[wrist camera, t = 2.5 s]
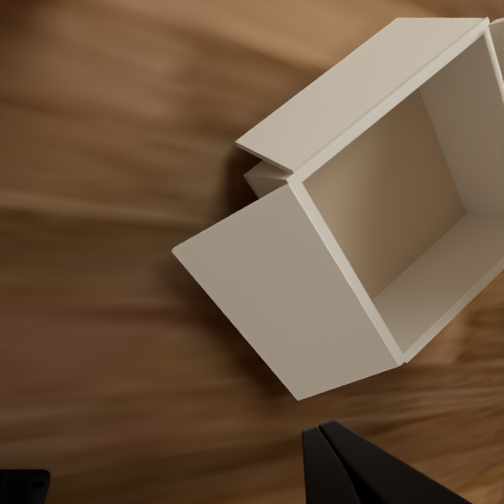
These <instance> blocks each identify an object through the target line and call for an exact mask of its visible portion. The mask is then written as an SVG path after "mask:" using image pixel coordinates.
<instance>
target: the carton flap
mask: <svg viewBox="0 0 504 504" xmlns="http://www.w3.org/2000/svg"><path fill="white" fill-rule="evenodd" d="M488 27H489V31H490V34H491V38H492V42H493V45H494V49H495V52H496V56H497V60H498V63H499V67H500V71H501V74H502V78H503V81H504V18H500V19H497V20H495V21H493V22H492V23H491V24H489V25H488Z"/></svg>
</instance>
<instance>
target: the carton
mask: <svg viewBox="0 0 504 504" xmlns="http://www.w3.org/2000/svg"><path fill="white" fill-rule="evenodd" d="M489 24H490V22H489V19H488V17H487V18H484V19H482V18H396V19H395V20H394V21H392V22H391V23H390V24H389V25H387V26H386V27H385V28H383V29H382V30H381V31H379V32H378V33H377V34H375V35H374V36H373V37H371V38H370V39H369V40H368V41H366V42H365V43H364V44H362V45H361V46H360V47H358V48H357V49H356V50H354V51H353V52H352V53H351V54H349V55H348V56H347V57H345V58H344V59H343V60H341V61H340V62H339V63H337V64H336V65H335V66H333V67H332V68H331V69H330V70H328V71H327V72H326V73H324V74H323V75H322V76H320V77H319V78H318V79H316V80H315V81H314V82H313V83H311V84H310V85H309V86H307V87H306V88H305V89H303V90H302V91H301V92H299V93H298V94H297V95H295V96H294V97H293V98H292V99H290V100H289V101H288V102H286V103H285V104H284V105H282V106H281V107H280V108H278V109H277V110H276V111H275V112H273V113H272V114H271V115H269V116H268V117H267V118H265V119H264V120H263V121H261V122H260V123H259V124H257V125H256V126H255V127H254V128H252V129H251V130H250V131H248V132H247V133H246V134H244V135H243V136H242V137H240V138H239V139H238V140H237V141H235V142H236V144H237V146H238V147H239V148H241V149H243V150H245V151H247V152H249V153H251V154H253V155H255V156H257V157H259V158H260V159H262V161H261V162H259V163H258V164H257V165H256V166H254V167H253V168H252V169H251V170H249V171H248V172H247V173H245V174H244V175H243V176H244V178H245V179H246V181H247V182H248V184H249V185H250V187H251V188H252V190H253V191H254V193H255V194H256V196H257V197H258V199H259V200H257V201H255V202H253V203H252V204H250V205H248V206H246V207H244V208H243V209H241V210H239V211H237V212H236V213H234V214H232V215H230V216H229V217H227V218H225V219H223V220H222V221H220V222H218V223H216V224H215V225H213V226H211V227H209V228H208V229H206V230H204V231H202V232H201V233H199V234H197V235H195V236H194V237H192V238H190V239H188V240H186V241H185V242H183V243H181V244H179V245H178V246H176V247H174V248H173V250H172V253H173V254H174V255H175V256H176V257H177V258H178V260H179V261H180V262H181V263H182V264H183V266H184V267H185V268H186V269H187V270H188V271H189V273H190V274H191V275H192V276H193V277H194V279H195V280H196V281H197V282H198V283H199V284H200V286H201V287H202V288H203V289H204V290H205V292H206V293H207V294H208V295H209V296H210V297H211V299H212V300H213V301H214V302H215V303H216V305H217V306H218V307H219V308H220V309H221V311H222V312H223V313H224V314H225V315H226V316H227V318H228V319H229V320H230V321H231V322H232V324H233V325H234V326H235V327H236V328H237V329H238V331H239V332H240V333H241V334H242V335H243V337H244V338H245V339H246V340H247V341H248V342H249V344H250V345H251V346H252V347H253V348H254V350H255V351H256V352H257V353H258V354H259V355H260V357H261V358H262V359H263V360H264V361H265V363H266V364H267V365H268V366H269V367H270V369H271V370H272V371H273V372H274V373H275V374H276V376H277V377H278V378H279V379H280V380H281V382H282V383H283V384H284V385H285V386H286V387H287V389H288V390H289V391H290V392H291V393H292V395H293V396H294V397H295V398H296V399H297V400H298V401H299V400H302V399H305V398H307V397H310V396H313V395H316V394H319V393H322V392H325V391H328V390H331V389H334V388H337V387H340V386H343V385H346V384H349V383H352V382H354V381H357V380H360V379H363V378H366V377H369V376H372V375H375V374H378V373H381V372H384V371H387V370H390V369H393V368H396V367H398V366H401V365H402V364H403V363H404V362H405V363H408V362H409V361H410V360H411V359H412V358H413V357H414V356H415V355H416V354H417V353H418V352H419V351H420V350H421V349H422V348H423V347H424V346H425V345H426V344H427V343H428V342H429V341H430V340H431V339H432V338H433V337H434V336H435V335H436V334H438V333H439V332H440V331H441V330H442V329H443V328H444V327H445V326H446V325H447V324H448V323H449V322H450V321H451V320H452V319H453V318H454V317H455V316H456V315H457V314H458V313H459V312H460V311H461V310H462V309H463V308H464V307H465V306H466V305H467V304H468V303H469V302H470V301H471V300H473V299H474V298H475V297H476V296H477V295H478V294H479V293H480V292H481V291H482V290H483V289H484V288H485V287H486V286H487V285H488V284H489V283H490V282H491V281H492V280H493V279H494V278H495V277H496V276H497V275H498V274H499V273H500V272H501V271H502V270H503V269H504V81H503V78H502V74H501V71H500V67H499V63H498V60H497V56H496V52H495V49H494V45H493V42H492V38H491V34H490V31H489V27H488V25H489Z"/></svg>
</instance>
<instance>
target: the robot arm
mask: <svg viewBox="0 0 504 504" xmlns="http://www.w3.org/2000/svg"><path fill="white" fill-rule="evenodd" d="M302 447H303V462H304V478H305V494H306V504H472V503H471V502H469V501H467V500H466V499H464V498H462V497H461V496H459V495H457V494H456V493H454V492H452V491H451V490H449V489H448V488H446V487H444V486H443V485H441V484H439V483H438V482H436V481H434V480H433V479H431V478H429V477H428V476H426V475H424V474H423V473H421V472H420V471H418V470H416V469H415V468H413V467H411V466H410V465H408V464H406V463H405V462H403V461H401V460H400V459H398V458H396V457H395V456H393V455H392V454H390V453H388V452H387V451H385V450H383V449H382V448H380V447H378V446H377V445H375V444H373V443H372V442H370V441H368V440H367V439H365V438H364V437H362V436H360V435H359V434H357V433H355V432H354V431H352V430H350V429H349V428H347V427H345V426H344V425H342V424H340V423H339V422H337V421H335V420H330V421H327V422H325V423H322V424H320V425H319V427H317V426H314V427H311V428H309V429H306V430H304V431H302ZM50 478H51V475H50V473H49V472H48V471H47V470H42V469H37V470H0V504H44V501H45V498H46V494H47V491H48V487H49V484H50ZM37 480H42V482H39V483H38V482H35V481H37Z"/></svg>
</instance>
